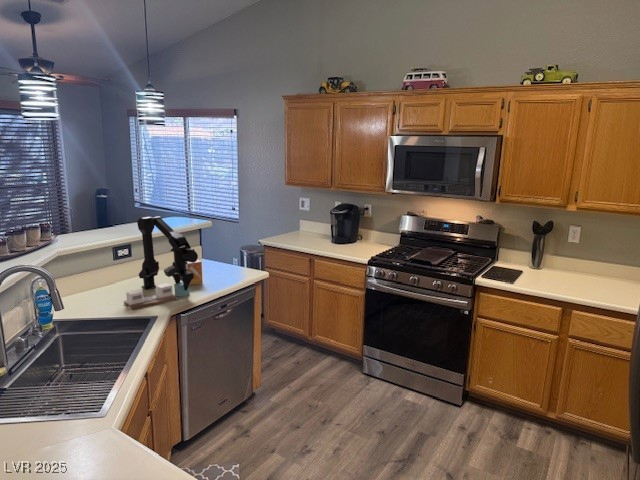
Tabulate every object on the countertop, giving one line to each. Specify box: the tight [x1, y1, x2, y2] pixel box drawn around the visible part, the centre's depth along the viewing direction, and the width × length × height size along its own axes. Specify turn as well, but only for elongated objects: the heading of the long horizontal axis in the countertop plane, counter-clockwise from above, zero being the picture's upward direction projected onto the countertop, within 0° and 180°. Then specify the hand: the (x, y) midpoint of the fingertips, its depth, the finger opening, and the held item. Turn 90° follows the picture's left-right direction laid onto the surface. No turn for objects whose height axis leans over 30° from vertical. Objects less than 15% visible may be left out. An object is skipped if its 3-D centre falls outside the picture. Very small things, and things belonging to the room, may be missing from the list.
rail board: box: [123, 293, 178, 311], centre depth 224 cm, size 12×22×2 cm, turn 132°
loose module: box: [173, 281, 191, 298], centre depth 235 cm, size 5×6×6 cm
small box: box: [186, 259, 203, 286], centre depth 254 cm, size 8×6×13 cm
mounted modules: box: [125, 282, 174, 304], centre depth 223 cm, size 6×21×5 cm, turn 133°
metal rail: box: [125, 294, 175, 306], centre depth 224 cm, size 6×22×1 cm, turn 133°
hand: (181, 288), depth 235 cm, fingers open, 9 cm apart
